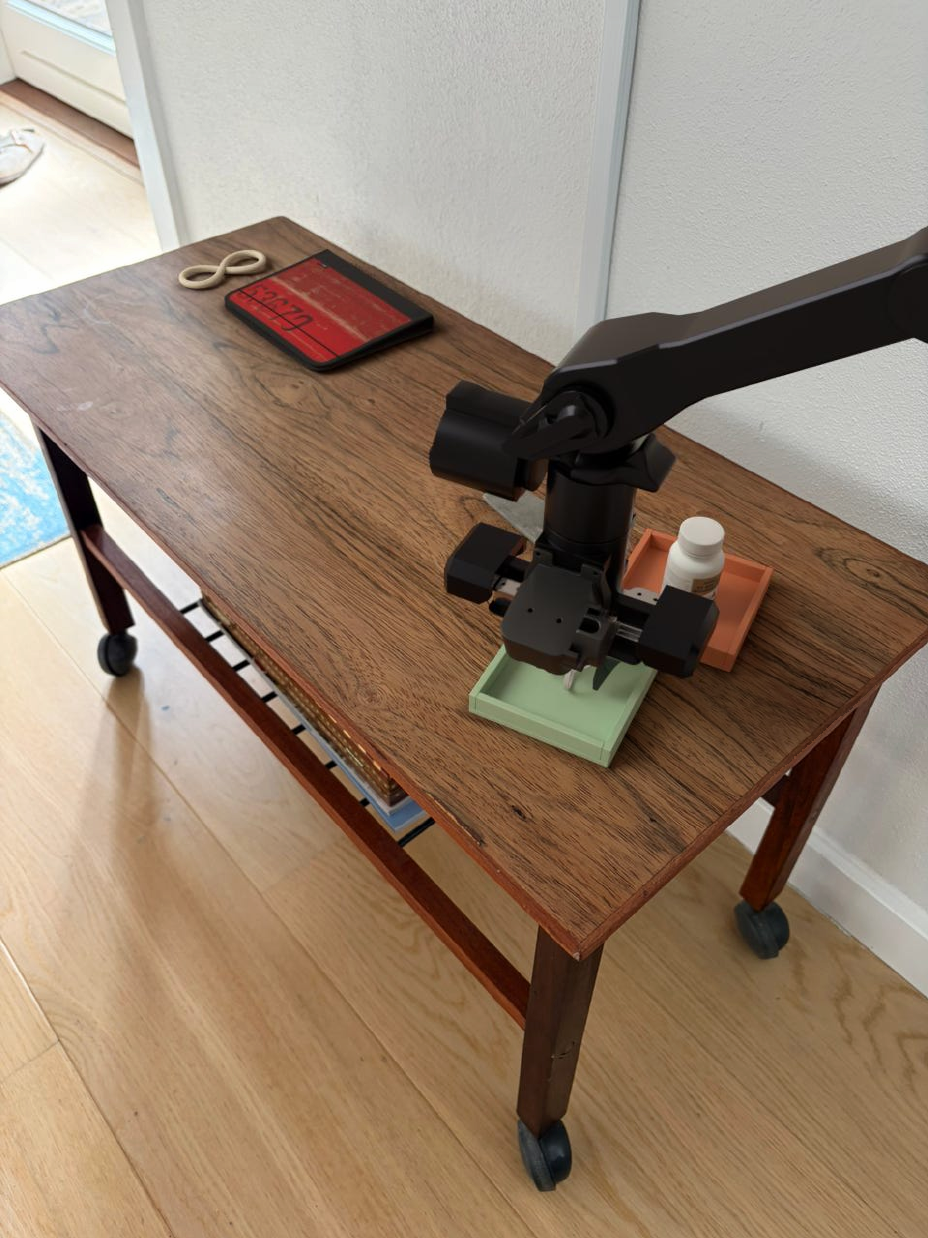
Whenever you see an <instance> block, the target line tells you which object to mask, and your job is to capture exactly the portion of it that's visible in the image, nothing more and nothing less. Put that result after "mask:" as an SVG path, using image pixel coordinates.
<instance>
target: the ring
mask: <svg viewBox="0 0 928 1238" xmlns="http://www.w3.org/2000/svg"><path fill="white" fill-rule="evenodd" d="M591 667H593V666H590V665H587V666H585V667H584V669H583V670H586V669H588V668H591ZM574 675H575V670H573V669H572V670H571V671H570V672H569V673H567V674H565V678H564V684H563V689H564V690H567V691H569V690H570V688H571V685H572V682H573V679H574Z"/></svg>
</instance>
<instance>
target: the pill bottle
mask: <svg viewBox="0 0 928 1238" xmlns="http://www.w3.org/2000/svg"><path fill="white" fill-rule="evenodd" d="M725 533H726V532H725V529H724V527H723V526H722V525H721V523H719V522H718V521H716V519H712V518H710V517H706V516H691V517H689V518H687V519H685V520H683V522H682V523H681V524H680V525H679V531H678V536H677V538H678V540H677V541H676V542H674V543H673V545H672V546H671V548H670V551H669V555H668V559H667V565H666V570H665V574H664V579H663V583H662V588H661V593H660V594H662V592H663V590H664V588H665V586H666V585H670V586H673V587H675V588H678V589H681V590H684V591H687V592H690V593H693V594H696V595H699V596H702V597H705V598H708V599H711V600H715V597H716V594H717V589H718V585H719V582H720V577H721V574H722V570H723V566H724V562H725V556H724V553H725V552H724V550H723V544H724V541H725V537H726V536H725Z"/></svg>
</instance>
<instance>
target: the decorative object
mask: <svg viewBox="0 0 928 1238" xmlns="http://www.w3.org/2000/svg"><path fill="white" fill-rule="evenodd" d="M243 258H255V259H258V261H257V262H255V263H251V264H248V265H241V266H230V265H231V263H233V262H234V261H236V260H239V259H243ZM266 263H267V258H266V255H265V254H263V252H260V251H259V250H255V249H254V250H253V249H243V250H238V251H235V252H233V253H231V254H229V255H227V256H226V257H225V258H224V259H223V260H222V261H221V263H219V265H213V264H212V265H211V264H210V265H209V264H198V265H193V266H190V267H189V266H188V267H186V268H185V269H183V270H182V271H181V272H180V273H179V274H178V281H179V283H180V284H181V285H182V286H184V287H186V288H189V289H195V290H196V289H197V290H198V289H205V288H208V287H211V286H213V285H215V284H217V283H218V282H219V281H220V280H221V279H222V277H223V276H224V274H226V275H235V274H236V275H239V274H248V273H253V272H256V271H258V270H260V269H262V268H263V267H264V266H265V265H266ZM198 273H199V274H200V273H214V274H213V275H212V276H210V277H209V278H206V279H204V280H200V281H194V280H189V279H187V277H189V276H191V275H195V274H198Z"/></svg>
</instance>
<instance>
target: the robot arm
mask: <svg viewBox="0 0 928 1238" xmlns="http://www.w3.org/2000/svg"><path fill="white" fill-rule="evenodd" d="M911 339H915V340H917V341H920V342H922V343H925V344H927V345H928V225H927V226H924V227H923V228H920V229H919V230H918V231H916V232H915V233H913V234H911V235H910V236H908V237H906V238H905V239H902V240H899V241H896V242H893V243H890V244H888V245H887V244H886V245H884V246H882V247H878V248H876V249H873V250H871V251H868V252H864V253H862V254H859V255H857V256H854V257H850V258H847V259H845V260H842V261H839V262H837V263H834V264H831V265H828V266H826V267H825V266H824V267H822V268H820V269H817V270H814V271H812V272H809V273H806V274H803V275H800V276H798V277H797V276H796V277H794V278H792V279H789V280H786V281H784V282H780V283H778V284H775V285H771V286H769V287H766V288H763V289H761V290H758V291H755V292H752V293H749V294H747V295H744V296H741V297H738V298H735V299H732V300H730V301H729V300H728V301H727V302H724V303H721V304H718V305H715V306H712V307H710V308H707V309H704V310H700V311H696V312H689V313H684V314H675V313H668V312H667V313H666V312H658V311H649V312H644V313H637V314H632V315H626V316H619V317H613V318H609V319H604V320H600V321H599V322H598V323H596V324H594V325H592V326H591V327H589V328H588V329H587V330H586V331H585V332H584V334H583V335H582V336H581V337H580V338H579V339H578V341H577V342H576V343H574V345H573V346H572V348H571V349H570V350H569V351H568V352H567V353H566V355H565V356H564V357H563V358H562V359H561V360H560V362H559V363H558V364H557V365H556V366H555V367H554V369H552V370H551V372H550V373H549V375H547V377H546V378H545V379H544V380H543V384H542V389H541V391H540V393H539V395H538V396H537V397H536V398H535V399H534V400H533V401H532V402H531V401H528V400H525V399H521V398H518V397H514V396H510V395H507V394H504V393H500V392H497V391H493V390H490V389H488V388H486V387H484V386H483V385H480V384H478V383H475V382H472V381H468V380H465V379H460V380H459V381H458V382H457V383H456V384H455V385H454V386H453V387H452V388H451V389H450V391H449V392H448V393H446V394H445V409H444V411H443V413H442V415H441V417H440V420H439V422H438V425H437V427H436V430H435V434H434V437H433V443H432V445H431V447H429V452H428V461H429V469H430V471H431V473H432V476H434V477H435V478H438V479H442V480H445V481H447V482H451V483H454V484H457V485H460V486H463V487H466V488H468V489H472V490H475V491H478V492H481V493H484V494H485V493H487V494H490V495H493V496H496V497H499V498H502V499H505V500H509V501H512V502H518V500H519V498H520V497H521V496H522V495H523V494H524V493H525V491H526V490H527V491H529V492H530V493H534V492H536V491H537V490H538V489H539V488H540V486H542V484H543V482H544V480H545V478H546V483H545V484H546V486H545V495H544V496H545V498H544V501H545V508H544V521H543V532H542V533H541V534H540V536H539V537H538V538H537V540H536V541H535V544H534V549H533V550H532V558H531V560H530V561H529V560H526V559H523V558H520V557H519V556H521V555H524V552H526V551H527V546H528V545H527V544H528V538H526V537H525V536H524V535H522V534H518V533H515V532H513V531H509V530H507V529H503V528H500V527H499V526H498V527H497V526H495V525H491V524H489V523H485V522H483V521H480V522H478V523H477V524H475V525H474V526H471V529H469V531H468V532H467V534H466V535H465V536H464V537H463V539H462V540H461V541H460V542H459V543H458V544H457V546H456V547H455V548H454V550H453V551H452V552H451V553H450V555H449V556H448V557H447V559H446V562H445V565H444V567H443V587H444V589H445V592H446V593H447V594H448V595H450V596H454V597H457V598H459V599H462V600H465V601H468V602H470V603H472V604H473V603H474V604H476V605H478V606H479V605H482V604H484V603H486V602H489V601H490V600H491V598H492V597H493V599H492V600H491V602H490V603H489V604H488V611H489V612H490V614H492V615H494V616H496V617H498V618H501V619H502V620H501V622H500V624H499V625H500V626H499V631H500V635H501V638H502V642H503V644H504V646H505V649H506V652H507V654H508V656H509V657H510V658H512V659H514V660H516V661H519V662H525V663H527V664H530V665H533V666H535V667H536V668H538V669H543V670H545V671H546V672H548V673H550V674H553V675H565V674H567V673H569V672H570V671H571V670H572V669H573V670H575V671H578V672H582V671H583V669H584V667H585V666H587V665H590V666H593V667H596V671H595V674H594V677H593V687H592V689H593V690H596V691H598V689H599V688H600V687H601V685H602V684H603V682H604V681H605V680H606V678H607V677H608V676H609V674H610V673H611V671H612V670H613V669H614V668H615V667H616V666H617V665H618V664H619V663H620V662H623V663H626V664H629V665H638V664H640V663H641V662H643V664H644V665H645V666H647V667H650V668H653V669H656V670H658V672H661V673H663V674H666V675H669V676H672V677H674V678H678V679H680V680H683V679H688V678H691V677H693V676H694V674H695V672H696V670H697V668H698V666H699V664H700V663H701V662H700V660H701V657H702V655H703V653H704V651H705V649H706V647H707V645H708V643H709V641H710V639H711V637H712V635H713V633H714V631H715V629H716V625H717V621H718V618H719V614H720V611H719V609H718V607H717V604H716V602H715V601H714V600H711V599H708V598H705V597H702V596H699V595H696V594H693V593H690V592H687V591H684V590H681V589H678V588H675V587H673V586H670V585H666V586H665V588H664V590H663V592H662V594H659V593H656V592H653V591H650V590H647V589H644V588H640V587H636V588H633V589H631V590H626V589H623V588H622V581H623V577H624V575H625V574H626V572H627V569H628V563H629V560H628V559H627V556H628V549H629V544H630V537H631V533H632V531H633V529H634V528H635V526H636V519H637V513H634V512H635V507H636V506H635V505H636V500H637V499H636V498H637V492H638V489H639V490H640V491H641V490H642V491H645V492H648V493H652V494H656V493H657V492H658V491H659V490H660V489H661V487H662V485H663V484H664V482H665V480H666V479H667V477H668V476H669V474H670V473H671V471H672V470H673V468H674V466H675V465H676V463H677V460H678V459H677V456H676V454H675V453H674V452H673V451H672V450H671V449H670V448H669V446H667V445H665V444H663V443H662V442H661V441H660V440H659V439H658V437H657V434H656V433H655V432H654V431H656V430H657V429H659V428H660V427H661V426H663V425H664V424H666V423H667V422H669V421H670V420H672V419H673V418H674V417H676V416H678V415H679V414H680V413H682V412H683V411H684V410H686V409H688V408H690V407H691V406H694V405H695V404H698V403H700V402H702V401H704V400H706V399H709V398H712V397H715V396H719V395H722V394H726V393H729V392H732V391H737V390H739V389H743V388H747V387H750V386H753V385H757V384H760V383H763V382H767V381H771V380H773V379H777V378H781V377H784V376H787V375H791V374H794V373H798V372H801V371H805V370H808V369H812V368H815V367H820V366H822V365H826V364H829V363H832V362H836V361H839V360H843V359H846V358H850V357H853V356H856V355H860V354H864V353H867V352H871V351H874V350H878V349H880V348H884V347H888V346H891V345H895V344H898V343H901V342H905V341H908V340H911Z"/></svg>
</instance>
